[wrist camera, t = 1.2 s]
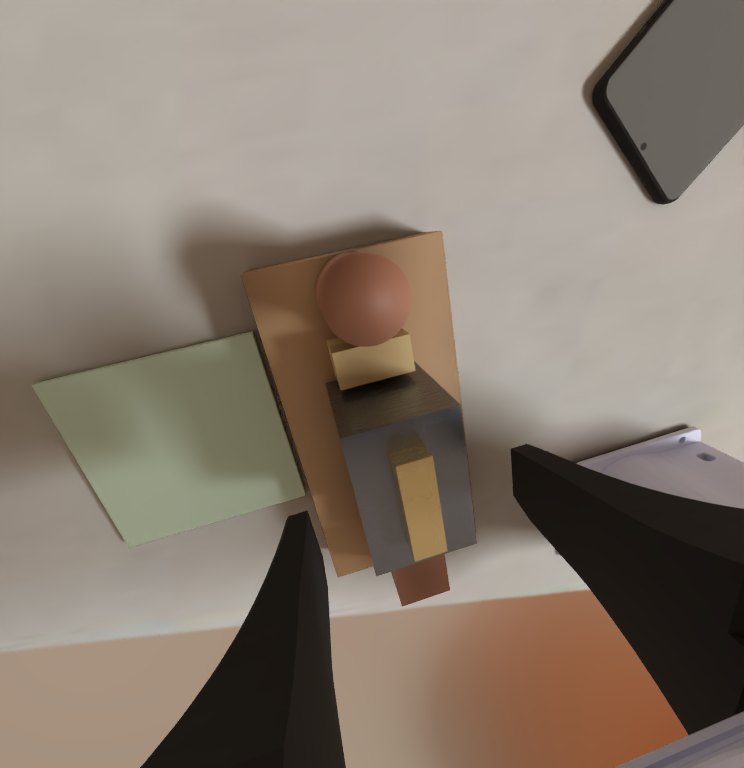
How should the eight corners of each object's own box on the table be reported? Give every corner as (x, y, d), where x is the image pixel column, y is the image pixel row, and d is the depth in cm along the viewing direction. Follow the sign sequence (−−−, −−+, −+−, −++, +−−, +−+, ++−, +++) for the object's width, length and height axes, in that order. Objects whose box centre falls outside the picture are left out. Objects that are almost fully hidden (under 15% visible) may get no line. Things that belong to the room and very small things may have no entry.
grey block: (413, 360, 17) (472, 415, 11) (430, 470, 19) (486, 559, 14) (325, 383, 16) (343, 452, 11) (354, 493, 18) (381, 594, 13)
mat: (252, 331, 17) (252, 333, 16) (305, 491, 20) (305, 495, 20) (37, 382, 16) (31, 385, 15) (132, 542, 19) (129, 548, 19)
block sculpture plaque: (425, 232, 17) (476, 228, 12) (460, 509, 23) (503, 576, 18) (245, 271, 16) (229, 283, 11) (333, 549, 22) (345, 630, 17)
